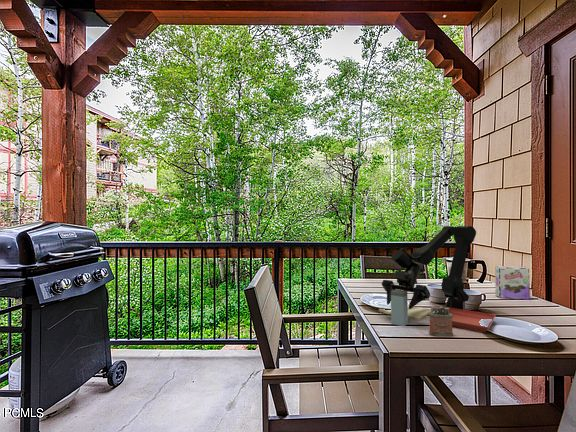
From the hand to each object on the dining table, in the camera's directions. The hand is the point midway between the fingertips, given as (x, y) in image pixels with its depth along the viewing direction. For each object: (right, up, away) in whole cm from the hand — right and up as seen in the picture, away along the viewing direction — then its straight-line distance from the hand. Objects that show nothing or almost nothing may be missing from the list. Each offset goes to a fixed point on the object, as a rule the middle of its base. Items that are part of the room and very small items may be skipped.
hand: (398, 306), depth 122 cm
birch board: (+9, -7, +16) cm, 20 cm away
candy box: (+75, -8, +39) cm, 85 cm away
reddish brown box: (+11, -7, -12) cm, 18 cm away
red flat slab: (+28, -8, 0) cm, 29 cm away
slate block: (+1, -7, 0) cm, 7 cm away
